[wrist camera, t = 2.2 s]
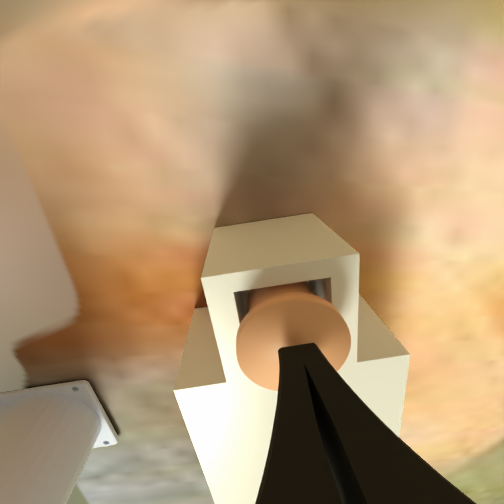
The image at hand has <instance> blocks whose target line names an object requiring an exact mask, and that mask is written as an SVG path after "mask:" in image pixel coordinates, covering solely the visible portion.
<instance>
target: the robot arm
mask: <svg viewBox="0 0 504 504" xmlns="http://www.w3.org/2000/svg"><path fill="white" fill-rule="evenodd" d="M278 356H279V385H278V395H277V404H276V411H275V417H274V423H273V429H272V435H271V440H270V445H269V450H268V455H267V459H266V463H265V468H264V472H263V476H262V480H261V484H260V487H259V491H258V495H257V499H256V503H255V504H476V503H475V502H473V501H472V500H471V499H470V498H469V497H467V496H466V495H465V494H464V493H462V492H461V491H460V490H459V489H458V488H456V487H455V486H454V485H453V484H451V483H450V482H449V481H448V480H446V479H445V478H444V477H443V476H442V475H440V474H439V473H438V472H437V471H436V470H435V469H434V468H432V467H431V466H430V465H429V464H428V463H427V462H426V461H424V460H423V459H422V458H421V457H420V456H419V455H418V454H416V453H415V452H414V451H413V450H412V449H411V448H410V447H409V446H408V445H407V444H406V443H404V442H403V441H402V440H401V439H400V438H399V437H398V436H397V435H396V434H395V433H394V432H393V431H392V430H391V429H390V428H389V427H388V426H387V425H386V424H385V423H384V422H383V421H382V420H381V419H380V418H379V417H378V416H377V415H376V414H375V413H374V412H373V411H372V410H371V409H370V408H369V407H368V406H367V405H366V404H365V403H364V402H363V401H362V400H361V399H360V398H359V396H358V395H357V394H356V393H355V392H354V391H353V390H352V389H351V387H350V386H349V385H348V384H347V383H346V382H345V381H344V379H343V378H342V377H341V376H340V375H339V374H338V372H337V371H336V370H335V369H334V367H333V366H332V365H331V364H330V362H329V361H328V360H327V358H326V357H325V356H324V354H323V353H322V352H321V350H320V349H319V347H318V346H317V345H316V344H315V343H307V344H301V345H294V346H288V347H281V348H280V349H279V350H278ZM118 439H119V437H118V435H117V433H116V432H115V430H114V428H113V426H112V424H111V422H110V420H109V419H108V417H107V415H106V413H105V411H104V409H103V407H102V406H101V404H100V402H99V400H98V398H97V396H96V394H95V393H94V391H93V389H92V387H91V385H90V383H89V382H88V381H85V380H80V381H73V382H67V383H60V384H54V385H47V386H41V387H34V388H28V389H21V390H14V391H8V392H2V393H0V504H66V503H67V501H68V499H69V497H70V495H71V492H72V490H73V488H74V486H75V484H76V482H77V480H78V478H79V476H80V474H81V471H82V469H83V467H84V465H85V463H86V461H87V459H88V457H89V455H90V453H91V450H92V448H97V447H103V446H110V445H115V444H116V443H117V442H118Z"/></svg>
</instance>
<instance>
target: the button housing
mask: <svg viewBox="0 0 504 504" xmlns="http://www.w3.org/2000/svg"><path fill="white" fill-rule="evenodd" d="M359 261H360V253H358V252H357V251H356V250H355V249H354V248H353V247H351V246H350V245H349V244H348V243H347V242H346V241H344V240H343V239H342V238H341V237H340V236H339V235H338V234H336V233H335V232H334V231H333V230H332V229H331V228H329V227H328V226H327V225H326V224H325V223H324V222H322V221H321V220H320V219H319V218H318V217H317V216H315V215H314V214H313V213H308V214H302V215H295V216H289V217H282V218H276V219H269V220H262V221H256V222H249V223H243V224H236V225H230V226H223V227H217V228H214V230H213V234H212V238H211V242H210V245H209V249H208V253H207V256H206V260H205V264H204V268H203V271H202V275H201V281H202V285H203V289H204V293H205V297H206V301H207V305H208V307H203V308H196V309H194V312H193V316H192V320H191V324H190V328H189V332H188V336H187V340H186V344H185V348H184V351H183V355H182V359H181V363H180V367H179V371H178V375H177V379H176V383H175V387H174V393H175V396H176V399H177V402H178V404H179V407H180V410H181V412H182V415H183V418H184V421H185V423H186V426H187V429H188V432H189V434H190V437H191V440H192V442H193V445H194V448H195V451H196V453H197V456H198V459H199V461H200V464H201V467H202V470H203V472H204V475H205V478H206V480H207V483H208V486H209V489H210V491H211V494H212V497H213V500H214V502H215V504H255V503H256V499H257V495H258V491H259V487H260V484H261V480H262V476H263V472H264V468H265V463H266V459H267V455H268V450H269V445H270V440H271V435H272V429H273V423H274V417H275V411H276V404H277V395H278V391H274V390H270V389H266V388H264V387H261V386H259V385H257V384H255V383H254V382H252V381H251V380H250V379H249V378H248V377H247V376H246V375H245V374H244V373H243V372H242V370H241V368H240V366H239V364H238V361H237V356H236V336H237V331H238V328H239V326H240V324H241V322H242V320H243V318H244V317H245V316H246V314H247V313H248V294H249V291H250V290H251V289H257V288H264V287H270V286H277V285H283V284H290V283H296V282H303V281H306V282H307V284H308V285H309V287H310V289H311V291H312V293H313V295H316V296H319V297H321V298H323V299H325V300H327V301H328V302H330V303H331V304H332V305H334V307H335V308H336V309H337V310H338V311H339V313H340V314H341V316H342V317H343V319H344V321H345V322H346V324H347V326H348V328H349V331H350V335H351V348H350V352H349V355H348V357H347V359H346V361H345V363H344V364H343V365H342V367H341V368H340V369H339V370H338V371H337V372H338V374H339V375H340V376H341V377H342V378H343V379H344V381H345V382H346V383H347V384H348V385H349V386H350V387H351V389H352V390H353V391H354V392H355V393H356V394H357V395H358V396H359V398H360V399H361V400H362V401H363V402H364V403H365V404H366V405H367V406H368V407H369V408H370V409H371V410H372V411H373V412H374V413H375V414H376V415H377V416H378V417H379V418H380V419H381V420H382V421H383V422H384V423H385V424H386V425H387V426H388V427H389V428H390V429H391V430H392V431H393V432H394V433H395V434H396V435H397V436H398V437H399V436H400V428H401V420H402V413H403V405H404V397H405V390H406V382H407V375H408V367H409V359H410V354H409V352H408V351H407V350H406V349H405V348H404V346H403V345H402V344H401V343H400V342H399V340H398V339H397V338H396V337H395V336H394V335H393V333H392V332H391V331H390V330H389V329H388V327H387V326H386V325H385V324H384V323H383V321H382V320H381V319H380V318H379V317H378V315H377V314H376V313H375V312H374V311H373V310H372V308H371V307H370V306H369V305H368V304H367V302H366V301H365V300H364V299H363V298H362V296H361V295H360V294H359Z"/></svg>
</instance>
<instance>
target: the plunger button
mask: <svg viewBox="0 0 504 504" xmlns="http://www.w3.org/2000/svg"><path fill="white" fill-rule="evenodd" d="M307 343H315V344H316V345H317V346H318V347H319V349H320V350H321V352H322V353H323V354H324V356H325V357H326V358H327V360H328V361H329V362H330V364H331V365H332V366H333V367H334V369H335V370H336V371H338V370H339V369H340V368H341V367H342V365H343V364H344V363H345V361H346V359H347V357H348V355H349V352H350V348H351V335H350V331H349V328H348V326H347V324H346V322H345V321H344V319H343V317H342V316H341V314H340V313H339V311H338V310H337V309H336V308H335V307H334V305H332V304H331V303H330V302H328V301H327V300H325V299H323V298H321V297H319V296H316V295H313V293H312V291H311V289H310V287H309V285H308V284H307V282H306V281H303V282H296V283H290V284H283V285H277V286H270V287H264V288H257V289H251V290H250V291H249V294H248V313H247V314H246V316H245V317H244V318H243V320H242V322H241V324H240V326H239V328H238V331H237V336H236V356H237V361H238V364H239V366H240V368H241V370H242V372H243V373H244V374H245V375H246V376H247V377H248V378H249V379H250V380H251V381H252V382H254V383H255V384H257V385H259V386H261V387H264V388H266V389H270V390H274V391H278V385H279V356H278V350H279V349H280V348H281V347H288V346H294V345H301V344H307Z"/></svg>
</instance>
